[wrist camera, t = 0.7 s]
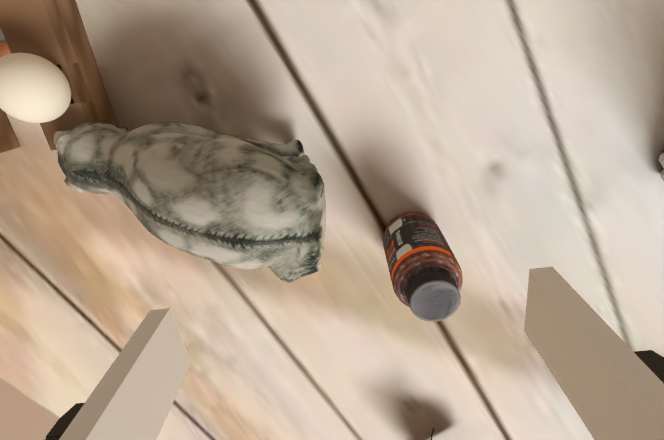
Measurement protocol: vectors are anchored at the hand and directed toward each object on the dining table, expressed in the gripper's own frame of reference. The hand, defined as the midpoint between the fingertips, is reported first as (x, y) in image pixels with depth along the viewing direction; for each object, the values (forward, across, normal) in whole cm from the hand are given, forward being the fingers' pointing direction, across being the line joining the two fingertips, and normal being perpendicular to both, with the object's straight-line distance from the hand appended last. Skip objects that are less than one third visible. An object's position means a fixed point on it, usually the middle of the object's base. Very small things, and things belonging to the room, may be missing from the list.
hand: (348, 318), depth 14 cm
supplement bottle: (+25, +6, -10) cm, 27 cm away
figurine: (+24, -12, 0) cm, 27 cm away
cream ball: (+19, -22, +9) cm, 31 cm away
